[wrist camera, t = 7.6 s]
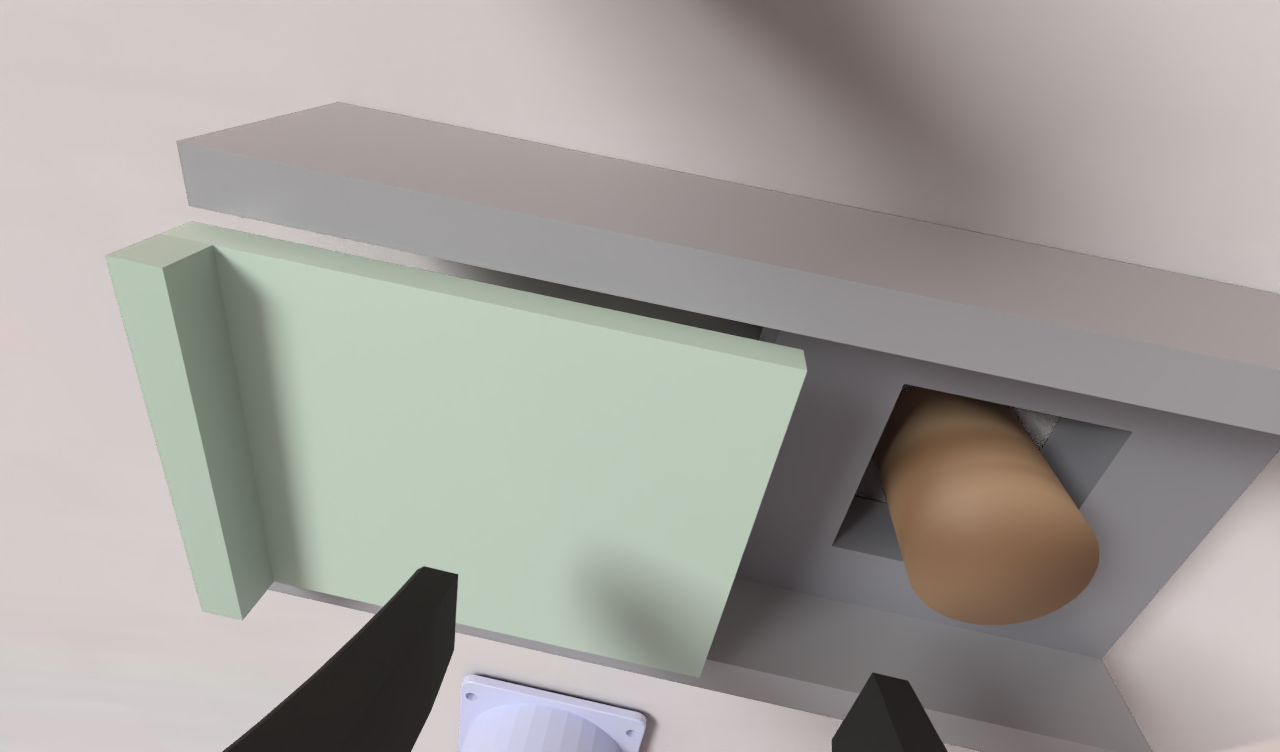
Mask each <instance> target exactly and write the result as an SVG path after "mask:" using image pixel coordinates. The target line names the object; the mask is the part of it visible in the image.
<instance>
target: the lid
mask: <svg viewBox="0 0 1280 752" xmlns="http://www.w3.org/2000/svg"><path fill="white" fill-rule="evenodd" d="M105 258H106V262H107V265H108V269H109V273H110V276H111V280H112V284H113V287H114V291H115V295H116V298H117V302H118V306H119V309H120V313H121V317H122V320H123V324H124V328H125V331H126V335H127V339H128V342H129V346H130V350H131V353H132V357H133V360H134V364H135V368H136V371H137V375H138V379H139V382H140V386H141V390H142V393H143V397H144V401H145V404H146V408H147V412H148V415H149V419H150V423H151V426H152V430H153V434H154V437H155V441H156V445H157V448H158V452H159V456H160V459H161V463H162V466H163V470H164V474H165V477H166V481H167V485H168V488H169V492H170V496H171V499H172V503H173V507H174V510H175V514H176V518H177V521H178V525H179V529H180V532H181V536H182V540H183V543H184V547H185V551H186V554H187V558H188V562H189V565H190V569H191V572H192V576H193V580H194V583H195V587H196V591H197V594H198V598H199V602H200V605H201V609H202V611H203V612H208V613H212V614H216V615H221V616H225V617H229V618H234V619H238V620H243V619H244V618H245V617H246V616H247V614H248V613H249V612H250V611H251V609H252V608H253V607H254V606H255V604H256V603H257V602H258V601H259V599H260V598H261V597H262V596H263V594H264V593H265V592H266V591H267V589H268V588H269V587H270V586H271V584H272V583H273V582H277V583H282V584H286V585H291V586H295V587H300V588H304V589H308V590H313V591H317V592H322V593H326V594H330V595H335V596H339V597H344V598H348V599H353V600H357V601H361V602H366V603H370V604H375V605H379V606H384V605H385V604H386V603H387V602H388V601H389V600H390V599H391V598H392V597H393V596H394V595H395V594H396V593H397V592H398V590H399V589H400V588H401V587H402V586H403V585H404V584H405V583H406V582H407V581H408V579H409V578H410V577H411V576H412V575H413V574H414V573H415V572H416V570H417V569H419V568H421V567H423V566H426V567H430V568H434V569H438V570H442V571H447V572H451V573H455V574H458V589H457V607H456V623H459V624H463V625H467V626H472V627H476V628H481V629H485V630H490V631H494V632H498V633H503V634H507V635H512V636H516V637H521V638H525V639H529V640H534V641H538V642H543V643H547V644H551V645H556V646H560V647H565V648H569V649H574V650H578V651H582V652H587V653H591V654H596V655H600V656H605V657H609V658H613V659H618V660H622V661H627V662H631V663H635V664H640V665H644V666H649V667H653V668H658V669H662V670H666V671H671V672H675V673H680V674H684V675H688V676H693V677H697V678H700V675H701V672H702V669H703V667H704V664H705V661H706V658H707V655H708V652H709V650H710V647H711V644H712V641H713V638H714V635H715V632H716V630H717V627H718V624H719V621H720V618H721V615H722V612H723V610H724V607H725V604H726V601H727V598H728V595H729V592H730V590H731V587H732V584H733V581H734V578H735V575H736V573H737V570H738V567H739V564H740V561H741V558H742V555H743V553H744V550H745V547H746V544H747V541H748V538H749V535H750V533H751V530H752V527H753V524H754V521H755V518H756V516H757V513H758V510H759V507H760V504H761V501H762V498H763V496H764V493H765V490H766V487H767V484H768V481H769V478H770V476H771V473H772V470H773V467H774V464H775V461H776V458H777V456H778V453H779V450H780V447H781V444H782V441H783V439H784V436H785V433H786V430H787V427H788V424H789V421H790V419H791V416H792V413H793V410H794V407H795V404H796V401H797V399H798V396H799V393H800V390H801V387H802V384H803V381H804V379H805V376H806V373H807V366H806V361H805V356H804V351H803V350H801V349H796V348H792V347H787V346H782V345H777V344H773V343H768V342H763V341H758V340H754V339H749V338H744V337H740V336H735V335H730V334H725V333H721V332H716V331H711V330H706V329H702V328H697V327H692V326H687V325H683V324H678V323H673V322H668V321H664V320H659V319H654V318H649V317H645V316H640V315H635V314H630V313H626V312H621V311H616V310H611V309H607V308H602V307H597V306H592V305H588V304H583V303H578V302H573V301H569V300H564V299H559V298H554V297H550V296H545V295H540V294H535V293H531V292H526V291H521V290H516V289H512V288H507V287H502V286H497V285H493V284H488V283H483V282H478V281H474V280H469V279H464V278H460V277H455V276H450V275H445V274H441V273H436V272H431V271H426V270H422V269H417V268H412V267H407V266H403V265H398V264H393V263H388V262H384V261H379V260H374V259H369V258H365V257H360V256H355V255H350V254H346V253H341V252H336V251H331V250H327V249H322V248H317V247H312V246H308V245H303V244H298V243H293V242H289V241H284V240H279V239H274V238H270V237H265V236H260V235H255V234H251V233H246V232H241V231H236V230H232V229H227V228H222V227H217V226H213V225H208V224H203V223H198V222H194V221H191V222H189V223H186V224H183V225H181V226H178V227H176V228H173V229H171V230H168V231H166V232H163V233H161V234H158V235H156V236H153V237H151V238H148V239H146V240H143V241H141V242H138V243H136V244H133V245H130V246H128V247H125V248H123V249H120V250H118V251H115V252H113V253H110V254H108V255H105Z"/></svg>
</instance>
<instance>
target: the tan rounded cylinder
mask: <svg viewBox="0 0 1280 752" xmlns="http://www.w3.org/2000/svg"><path fill="white" fill-rule="evenodd" d="M873 455H874V458H875V462H876V465H877V469H878V472H879V476H880V479H881V483H882V487H883V490H884V494H885V497H886V501H887V504H888V508H889V511H890V515H891V518H892V522H893V525H894V529H895V532H896V536H897V539H898V543H899V546H900V550H901V554H902V557H903V561H904V564H905V568H906V571H907V575H908V578H909V581H910V584H911V587H912V588H913V590H914V592H915V593H916V595H917V596H918V597H919V598H920V599H921V601H923V602H924V603H925V604H926V605H927V606H928V607H930V608H931V609H933V610H934V611H936V612H938V613H940V614H942V615H944V616H946V617H949V618H951V619H954V620H958V621H961V622H965V623H971V624H979V625H1007V624H1015V623H1021V622H1025V621H1029V620H1033V619H1036V618H1039V617H1042V616H1045V615H1047V614H1050V613H1052V612H1054V611H1056V610H1058V609H1060V608H1061V607H1063V606H1065V605H1067V604H1068V603H1069V602H1071V601H1072V600H1073V599H1075V598H1076V597H1077V596H1078V595H1079V594H1080V593H1081V592H1082V591H1083V590H1084V589H1085V588H1086V587H1087V586H1088V584H1089V583H1090V581H1091V580H1092V578H1093V577H1094V575H1095V572H1096V570H1097V567H1098V563H1099V545H1098V541H1097V539H1096V536H1095V534H1094V532H1093V531H1092V529H1091V528H1090V526H1089V525H1088V523H1087V522H1086V520H1085V519H1084V517H1083V516H1082V514H1081V513H1080V511H1079V509H1078V508H1077V506H1076V505H1075V503H1074V502H1073V500H1072V499H1071V497H1070V496H1069V494H1068V493H1067V491H1066V490H1065V488H1064V487H1063V485H1062V484H1061V482H1060V481H1059V479H1058V478H1057V476H1056V475H1055V473H1054V472H1053V470H1052V469H1051V467H1050V466H1049V464H1048V462H1047V461H1046V459H1045V458H1044V456H1043V455H1042V453H1041V452H1040V450H1039V449H1038V447H1037V446H1036V444H1035V443H1034V441H1033V440H1032V438H1031V437H1030V435H1029V434H1028V432H1027V431H1026V429H1025V428H1024V426H1023V425H1022V423H1021V422H1020V420H1019V419H1018V417H1017V415H1016V414H1015V412H1014V411H1013V409H1012V408H1011V406H1008V405H1003V404H998V403H993V402H989V401H984V400H979V399H974V398H970V397H965V396H960V395H955V394H951V393H946V392H941V391H937V390H932V389H927V388H922V387H917V388H914V389H912V390H910V391H908V392H906V393H905V394H903V395H902V396H900V397H899V398H898V399H897V401H896V403H895V405H894V408H893V410H892V412H891V414H890V417H889V419H888V421H887V423H886V425H885V428H884V430H883V432H882V434H881V437H880V439H879V441H878V443H877V446H876V448H875V450H874V452H873Z"/></svg>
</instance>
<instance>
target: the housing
mask: <svg viewBox="0 0 1280 752" xmlns="http://www.w3.org/2000/svg"><path fill="white" fill-rule="evenodd" d="M176 142H177V147H178V152H179V157H180V162H181V167H182V172H183V177H184V183H185V188H186V193H187V198H188V203H189V206H192V207H196V208H201V209H206V210H211V211H215V212H220V213H225V214H230V215H235V216H239V217H244V218H249V219H254V220H258V221H263V222H268V223H273V224H277V225H282V226H287V227H292V228H296V229H301V230H306V231H311V232H315V233H320V234H325V235H330V236H335V237H339V238H344V239H349V240H354V241H358V242H363V243H368V244H373V245H377V246H382V247H387V248H392V249H396V250H401V251H406V252H411V253H415V254H420V255H425V256H430V257H434V258H439V259H444V260H449V261H454V262H458V263H463V264H468V265H473V266H477V267H482V268H487V269H492V270H496V271H501V272H506V273H511V274H515V275H520V276H525V277H530V278H534V279H539V280H544V281H549V282H553V283H558V284H563V285H568V286H573V287H577V288H582V289H587V290H592V291H596V292H601V293H606V294H611V295H615V296H620V297H625V298H630V299H634V300H639V301H644V302H649V303H653V304H658V305H663V306H668V307H673V308H677V309H682V310H687V311H692V312H696V313H701V314H706V315H711V316H715V317H720V318H725V319H730V320H734V321H739V322H744V323H749V324H753V325H758V326H763V329H762V332H761V336H760V339H759V341H763V342H768V343H773V344H777V345H782V346H787V347H792V348H796V349H801V350H803V351H804V356H805V361H806V366H807V373H806V376H805V379H804V381H803V384H802V387H801V390H800V393H799V396H798V399H797V401H796V404H795V407H794V410H793V413H792V416H791V419H790V421H789V424H788V427H787V430H786V433H785V436H784V439H783V441H782V444H781V447H780V450H779V453H778V456H777V458H776V461H775V464H774V467H773V470H772V473H771V476H770V478H769V481H768V484H767V487H766V490H765V493H764V496H763V498H762V501H761V504H760V507H759V510H758V513H757V516H756V518H755V521H754V524H753V527H752V530H751V533H750V535H749V538H748V541H747V544H746V547H745V550H744V553H743V555H742V558H741V561H740V564H739V567H738V570H737V573H736V575H735V578H734V581H733V584H732V587H731V590H730V592H729V595H728V598H727V601H726V604H725V607H724V610H723V612H722V615H721V618H720V621H719V624H718V627H717V630H716V632H715V635H714V638H713V641H712V644H711V647H710V650H709V652H708V655H707V658H706V661H705V664H704V667H703V669H702V672H701V675H700V678H697V677H693V676H688V675H684V674H680V673H675V672H671V671H666V670H662V669H658V668H653V667H649V666H644V665H640V664H635V663H631V662H627V661H622V660H618V659H613V658H609V657H605V656H600V655H596V654H591V653H587V652H582V651H578V650H574V649H569V648H565V647H560V646H556V645H551V644H547V643H543V642H538V641H534V640H529V639H525V638H521V637H516V636H512V635H507V634H503V633H498V632H494V631H490V630H485V629H481V628H476V627H472V626H467V625H463V624H459V623H456V624H455V632H457V633H462V634H466V635H470V636H475V637H479V638H484V639H488V640H493V641H497V642H501V643H506V644H510V645H515V646H519V647H523V648H528V649H532V650H537V651H541V652H545V653H550V654H554V655H559V656H563V657H568V658H572V659H576V660H581V661H585V662H590V663H594V664H598V665H603V666H607V667H612V668H616V669H620V670H625V671H629V672H634V673H638V674H643V675H647V676H651V677H656V678H660V679H665V680H669V681H673V682H678V683H682V684H687V685H691V686H695V687H700V688H704V689H709V690H713V691H718V692H722V693H726V694H731V695H735V696H740V697H744V698H748V699H753V700H757V701H762V702H766V703H770V704H775V705H779V706H784V707H788V708H793V709H797V710H801V711H806V712H810V713H815V714H819V715H823V716H828V717H832V718H837V719H841V720H844V719H845V717H846V716H847V714H848V712H849V711H850V709H851V707H852V706H853V704H854V702H855V701H856V699H857V697H858V696H859V694H860V692H861V691H862V689H863V687H864V686H865V684H866V682H867V681H868V679H869V677H870V676H871V674H872V672H874V673H878V674H882V675H886V676H891V677H895V678H899V679H903V680H908V681H909V683H910V684H911V686H912V688H913V690H914V692H915V693H916V695H917V697H918V699H919V701H920V702H921V704H922V706H923V708H924V710H925V712H926V713H927V715H928V717H929V719H930V721H931V723H932V724H933V726H934V728H935V730H936V732H937V733H938V735H939V737H940V739H941V741H942V742H943V743H947V744H951V745H956V746H960V747H965V748H969V749H973V750H978V751H982V752H1152V750H1151V748H1150V746H1149V745H1148V743H1147V741H1146V739H1145V737H1144V736H1143V734H1142V732H1141V730H1140V728H1139V727H1138V725H1137V723H1136V721H1135V719H1134V718H1133V716H1132V714H1131V712H1130V710H1129V709H1128V707H1127V705H1126V703H1125V701H1124V700H1123V698H1122V696H1121V694H1120V692H1119V691H1118V689H1117V687H1116V685H1115V683H1114V682H1113V680H1112V678H1111V676H1110V674H1109V673H1108V671H1107V669H1106V667H1105V665H1104V664H1103V662H1102V660H1101V659H1102V657H1103V656H1104V655H1105V654H1106V653H1107V651H1108V650H1109V649H1110V648H1111V647H1112V646H1113V644H1114V643H1115V642H1116V641H1117V640H1118V639H1119V637H1120V636H1121V635H1122V634H1123V633H1124V632H1125V630H1126V629H1127V628H1128V627H1129V626H1130V625H1131V623H1132V622H1133V621H1134V620H1135V619H1136V617H1137V616H1138V615H1139V614H1140V613H1141V612H1142V610H1143V609H1144V608H1145V607H1146V606H1147V605H1148V603H1149V602H1150V601H1151V600H1152V599H1153V598H1154V596H1155V595H1156V594H1157V593H1158V592H1159V590H1160V589H1161V588H1162V587H1163V586H1164V585H1165V583H1166V582H1167V581H1168V580H1169V579H1170V578H1171V576H1172V575H1173V574H1174V573H1175V572H1176V571H1177V569H1178V568H1179V567H1180V566H1181V565H1182V564H1183V562H1184V561H1185V560H1186V559H1187V558H1188V556H1189V555H1190V554H1191V553H1192V552H1193V551H1194V549H1195V548H1196V547H1197V546H1198V545H1199V544H1200V542H1201V541H1202V540H1203V539H1204V538H1205V537H1206V535H1207V534H1208V533H1209V532H1210V531H1211V530H1212V528H1213V527H1214V526H1215V525H1216V524H1217V522H1218V521H1219V520H1220V519H1221V518H1222V517H1223V515H1224V514H1225V513H1226V512H1227V511H1228V510H1229V508H1230V507H1231V506H1232V505H1233V504H1234V503H1235V501H1236V500H1237V499H1238V498H1239V497H1240V496H1241V494H1242V493H1243V492H1244V491H1245V490H1246V488H1247V487H1248V486H1249V485H1250V484H1251V483H1252V481H1253V480H1254V479H1255V478H1256V477H1257V476H1258V474H1259V473H1260V472H1261V471H1262V470H1263V469H1264V467H1265V466H1266V465H1267V464H1268V463H1269V462H1270V460H1271V459H1272V458H1273V457H1274V456H1275V454H1276V453H1277V452H1278V451H1279V450H1280V294H1276V293H1271V292H1267V291H1262V290H1257V289H1252V288H1247V287H1242V286H1237V285H1232V284H1227V283H1222V282H1218V281H1213V280H1208V279H1203V278H1198V277H1193V276H1188V275H1183V274H1178V273H1173V272H1168V271H1164V270H1159V269H1154V268H1149V267H1144V266H1139V265H1134V264H1129V263H1124V262H1119V261H1115V260H1110V259H1105V258H1100V257H1095V256H1090V255H1085V254H1080V253H1075V252H1070V251H1066V250H1061V249H1056V248H1051V247H1046V246H1041V245H1036V244H1031V243H1026V242H1021V241H1016V240H1012V239H1007V238H1002V237H997V236H992V235H987V234H982V233H977V232H972V231H967V230H963V229H958V228H953V227H948V226H943V225H938V224H933V223H928V222H923V221H918V220H914V219H909V218H904V217H899V216H894V215H889V214H884V213H879V212H874V211H869V210H864V209H860V208H855V207H850V206H845V205H840V204H835V203H830V202H825V201H820V200H815V199H811V198H806V197H801V196H796V195H791V194H786V193H781V192H776V191H771V190H766V189H762V188H757V187H752V186H747V185H742V184H737V183H732V182H727V181H722V180H717V179H712V178H708V177H703V176H698V175H693V174H688V173H683V172H678V171H673V170H668V169H663V168H659V167H654V166H649V165H644V164H639V163H634V162H629V161H624V160H619V159H614V158H610V157H605V156H600V155H595V154H590V153H585V152H580V151H575V150H570V149H565V148H560V147H556V146H551V145H546V144H541V143H536V142H531V141H526V140H521V139H516V138H511V137H507V136H502V135H497V134H492V133H487V132H482V131H477V130H472V129H467V128H462V127H458V126H453V125H448V124H443V123H438V122H433V121H428V120H423V119H418V118H413V117H409V116H404V115H399V114H394V113H389V112H384V111H379V110H374V109H369V108H364V107H359V106H355V105H350V104H345V103H340V102H336V103H332V104H328V105H324V106H320V107H315V108H311V109H307V110H303V111H299V112H295V113H291V114H287V115H283V116H278V117H274V118H270V119H266V120H262V121H258V122H254V123H250V124H245V125H241V126H237V127H233V128H229V129H225V130H221V131H217V132H212V133H208V134H204V135H200V136H196V137H192V138H188V139H184V140H179V141H176ZM904 384H908V385H913V386H918V387H922V388H927V389H932V390H937V391H941V392H946V393H951V394H955V395H960V396H965V397H970V398H974V399H979V400H984V401H989V402H993V403H998V404H1003V405H1008V406H1012V407H1017V408H1022V409H1026V410H1031V411H1036V412H1041V413H1045V414H1050V415H1055V416H1060V417H1061V418H1060V420H1059V422H1058V423H1057V425H1056V426H1055V428H1054V430H1053V431H1052V433H1051V435H1050V436H1049V438H1048V440H1047V441H1046V443H1045V444H1044V446H1043V448H1042V449H1041V451H1040V452H1041V453H1042V455H1043V456H1044V458H1045V459H1046V461H1047V462H1048V464H1049V466H1050V467H1051V469H1052V470H1053V472H1054V473H1055V475H1056V476H1057V478H1058V479H1059V481H1060V482H1061V484H1062V485H1063V487H1064V488H1065V490H1066V491H1067V493H1068V494H1069V496H1070V497H1071V499H1072V500H1073V502H1074V503H1075V505H1076V506H1077V508H1078V509H1079V511H1080V513H1081V514H1082V516H1083V517H1084V519H1085V520H1086V522H1087V523H1088V525H1089V526H1090V528H1091V529H1092V531H1093V532H1094V534H1095V536H1096V539H1097V541H1098V545H1099V563H1098V567H1097V570H1096V572H1095V575H1094V577H1093V578H1092V580H1091V581H1090V583H1089V584H1088V586H1087V587H1086V588H1085V589H1084V590H1083V591H1082V592H1081V593H1080V594H1079V595H1078V596H1077V597H1076V598H1075V599H1073V600H1072V601H1071V602H1069V603H1068V604H1067V605H1065V606H1063V607H1061V608H1060V609H1058V610H1056V611H1054V612H1052V613H1050V614H1047V615H1045V616H1042V617H1039V618H1036V619H1033V620H1029V621H1025V622H1021V623H1015V624H1007V625H979V624H971V623H965V622H961V621H958V620H954V619H951V618H949V617H946V616H944V615H942V614H940V613H938V612H936V611H934V610H933V609H931V608H930V607H928V606H927V605H926V604H925V603H924V602H923V601H921V599H920V598H919V597H918V596H917V595H916V593H915V592H914V590H913V588H912V587H911V584H910V581H909V578H908V575H907V571H906V568H905V564H904V561H903V557H902V554H901V550H900V546H899V543H898V539H897V536H896V532H895V529H894V525H893V522H892V518H891V515H890V511H889V508H888V504H887V503H883V502H878V501H873V500H869V499H864V498H860V497H855V496H854V495H855V493H856V490H857V488H858V486H859V484H860V481H861V479H862V477H863V475H864V473H865V470H866V468H867V466H868V464H869V461H870V459H871V457H872V455H873V452H874V450H875V448H876V446H877V443H878V441H879V439H880V437H881V434H882V432H883V430H884V428H885V425H886V423H887V421H888V419H889V417H890V414H891V412H892V410H893V408H894V405H895V403H896V401H897V399H898V396H899V394H900V392H901V390H902V387H903V385H904ZM268 590H272V591H276V592H281V593H285V594H290V595H294V596H298V597H303V598H307V599H312V600H316V601H320V602H325V603H329V604H334V605H338V606H343V607H347V608H351V609H356V610H360V611H365V612H369V613H373V614H377V613H378V612H379V611H380V609H381V608H382V607H383V606H379V605H375V604H370V603H366V602H361V601H357V600H353V599H348V598H344V597H339V596H335V595H330V594H326V593H322V592H317V591H313V590H308V589H304V588H300V587H295V586H291V585H286V584H282V583H277V582H273V583H272V584H271V586H270V587H269V588H268Z"/></svg>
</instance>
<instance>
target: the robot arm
mask: <svg viewBox="0 0 1280 752" xmlns="http://www.w3.org/2000/svg"><path fill="white" fill-rule="evenodd" d="M457 589H458V574H455V573H451V572H447V571H442V570H438V569H434V568H430V567H426V566H423V567H421V568H419V569H417V570H416V572H415V573H414V574H413V575H412V576H411V577H410V578H409V579H408V581H407V582H406V583H405V584H404V585H403V586H402V587H401V588H400V589H399V590H398V592H397V593H396V594H395V595H394V596H393V597H392V598H391V599H390V600H389V601H388V602H387V603H386V604H385V605H384V606H383V607H382V608H381V609H380V611H379V612H378V613H377V614H376V615H375V616H374V617H373V618H372V619H371V620H370V621H369V622H368V623H367V624H366V625H365V626H364V627H363V628H362V629H361V630H360V631H359V632H358V633H357V634H356V635H355V636H354V637H353V638H351V639H350V640H349V641H348V642H347V643H346V644H345V645H344V646H343V647H342V648H341V649H340V650H339V651H338V652H337V653H336V654H335V655H334V656H333V657H331V658H330V659H329V660H328V661H327V662H326V663H325V664H324V665H323V666H322V667H321V668H320V669H319V670H318V671H317V672H316V673H314V674H313V675H312V676H311V677H310V678H309V679H308V680H307V681H306V682H304V683H303V684H302V685H301V686H300V687H299V688H298V689H296V690H295V691H294V692H293V693H292V694H291V695H289V696H288V697H287V698H286V699H285V700H284V701H283V702H281V703H280V704H279V705H278V706H277V707H276V708H275V709H273V710H272V711H271V712H270V713H269V714H268V715H267V716H265V717H264V718H263V719H262V720H261V721H259V722H258V723H257V724H256V725H255V726H253V727H252V728H251V729H250V730H249V731H247V732H246V733H245V734H244V735H242V736H241V737H240V738H239V739H238V740H236V741H235V742H234V743H233V744H231V745H230V746H229V747H228V748H226V749H225V750H224V751H223V752H411V750H412V748H413V746H414V744H415V742H416V740H417V738H418V736H419V734H420V732H421V730H422V728H423V726H424V724H425V722H426V720H427V718H428V716H429V714H430V712H431V709H432V707H433V704H434V702H435V699H436V696H437V694H438V691H439V689H440V686H441V683H442V681H443V678H444V675H445V673H446V670H447V667H448V665H449V662H450V659H451V656H452V654H453V651H454V641H455V624H456V607H457ZM646 722H647V719H646V717H645V716H644V715H643V714H641V713H639V712H636V711H631V710H627V709H623V708H618V707H614V706H609V705H605V704H601V703H596V702H592V701H588V700H583V699H579V698H574V697H570V696H566V695H561V694H557V693H553V692H548V691H544V690H539V689H535V688H531V687H526V686H522V685H518V684H513V683H509V682H504V681H500V680H496V679H491V678H487V677H482V676H478V675H467V676H466V677H464V680H463V682H462V685H461V696H460V720H459V745H458V752H639V749H640V746H641V743H642V739H643V736H644V733H645V729H646ZM832 752H947V750H946V748H945V746H944V744H943V743H942V741H941V739H940V737H939V735H938V733H937V732H936V730H935V728H934V726H933V724H932V723H931V721H930V719H929V717H928V715H927V713H926V712H925V710H924V708H923V706H922V704H921V702H920V701H919V699H918V697H917V695H916V693H915V692H914V690H913V688H912V686H911V684H910V683H909V681H908V680H903V679H899V678H895V677H891V676H886V675H882V674H878V673H874V672H872V674H871V676H870V677H869V679H868V681H867V682H866V684H865V686H864V687H863V689H862V691H861V692H860V694H859V696H858V697H857V699H856V701H855V702H854V704H853V706H852V707H851V709H850V711H849V712H848V714H847V716H846V717H845V719H844V721H843V722H842V724H841V725H840V727H839V729H838V730H837V732H836V734H835V735H834V737H833V739H832Z"/></svg>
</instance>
